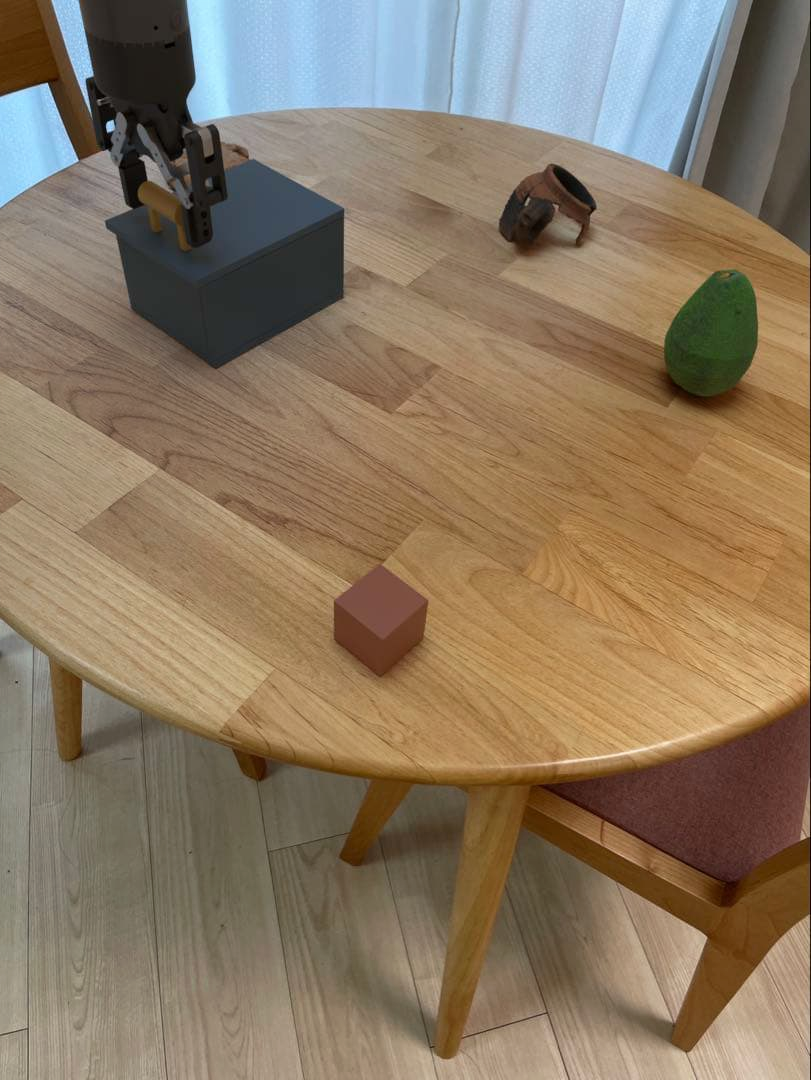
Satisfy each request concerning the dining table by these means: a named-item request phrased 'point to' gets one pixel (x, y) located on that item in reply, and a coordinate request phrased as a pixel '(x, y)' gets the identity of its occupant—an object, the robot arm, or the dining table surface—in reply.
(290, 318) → the chest
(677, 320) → the avocado
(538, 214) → the pottery mug
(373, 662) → the block
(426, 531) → the dining table surface
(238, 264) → the lid
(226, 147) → the cookie
